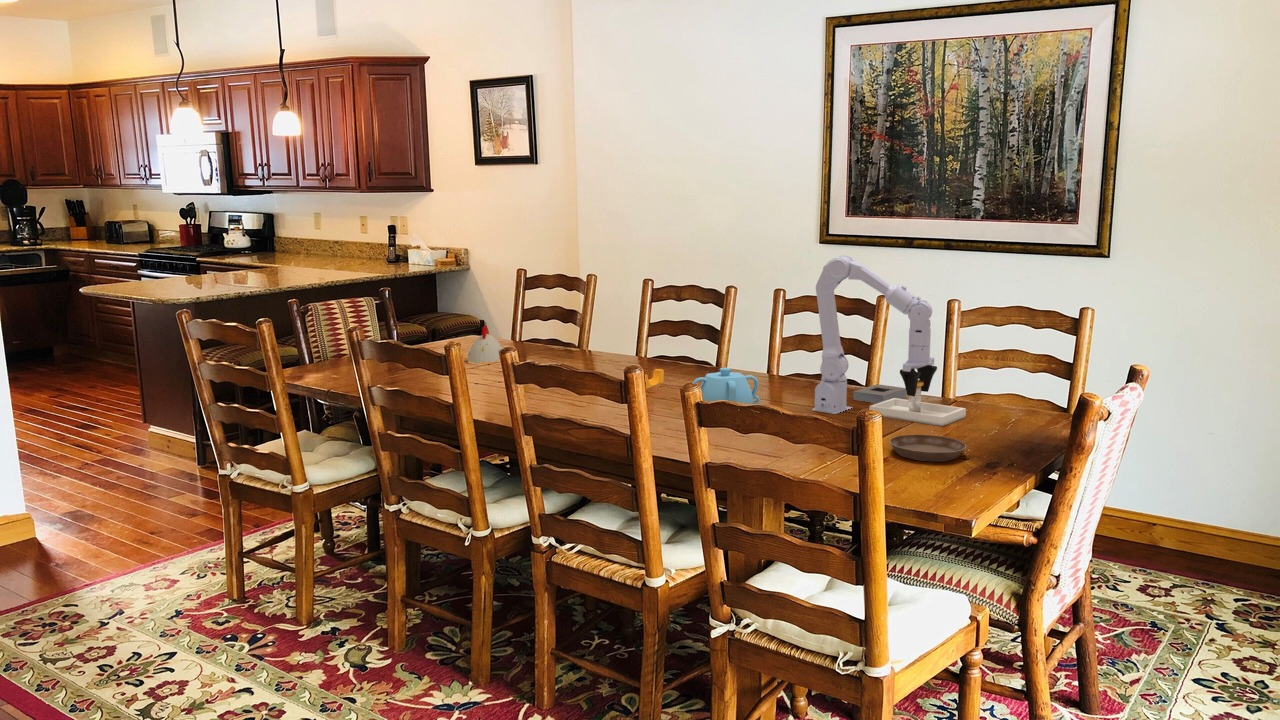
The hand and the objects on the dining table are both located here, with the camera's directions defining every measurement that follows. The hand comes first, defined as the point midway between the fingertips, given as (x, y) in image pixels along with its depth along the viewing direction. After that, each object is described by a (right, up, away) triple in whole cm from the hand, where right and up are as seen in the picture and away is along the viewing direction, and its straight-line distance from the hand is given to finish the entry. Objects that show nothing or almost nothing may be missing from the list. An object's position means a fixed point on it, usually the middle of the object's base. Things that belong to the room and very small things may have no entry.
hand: (917, 393), depth 278 cm
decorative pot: (-53, -7, +6) cm, 54 cm away
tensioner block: (-5, -3, +23) cm, 24 cm away
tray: (0, -6, +1) cm, 6 cm away
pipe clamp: (-75, -1, +40) cm, 85 cm away
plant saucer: (-8, -14, -38) cm, 41 cm away
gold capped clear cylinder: (0, -6, +2) cm, 6 cm away
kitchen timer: (-134, +7, +91) cm, 162 cm away
